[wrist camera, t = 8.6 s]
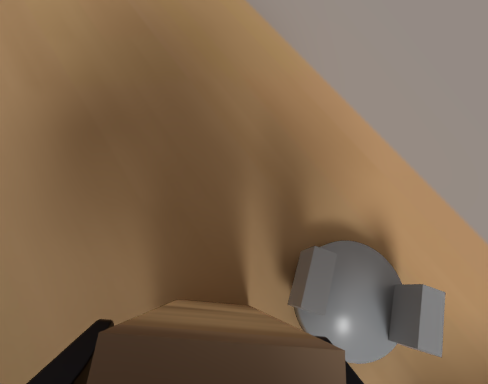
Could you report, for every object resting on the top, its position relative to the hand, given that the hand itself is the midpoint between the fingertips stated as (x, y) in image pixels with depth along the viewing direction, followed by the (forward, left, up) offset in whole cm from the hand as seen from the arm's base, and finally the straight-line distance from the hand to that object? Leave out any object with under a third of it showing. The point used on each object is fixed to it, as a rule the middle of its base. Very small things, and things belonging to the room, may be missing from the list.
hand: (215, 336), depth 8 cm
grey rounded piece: (+8, +1, -7) cm, 10 cm away
